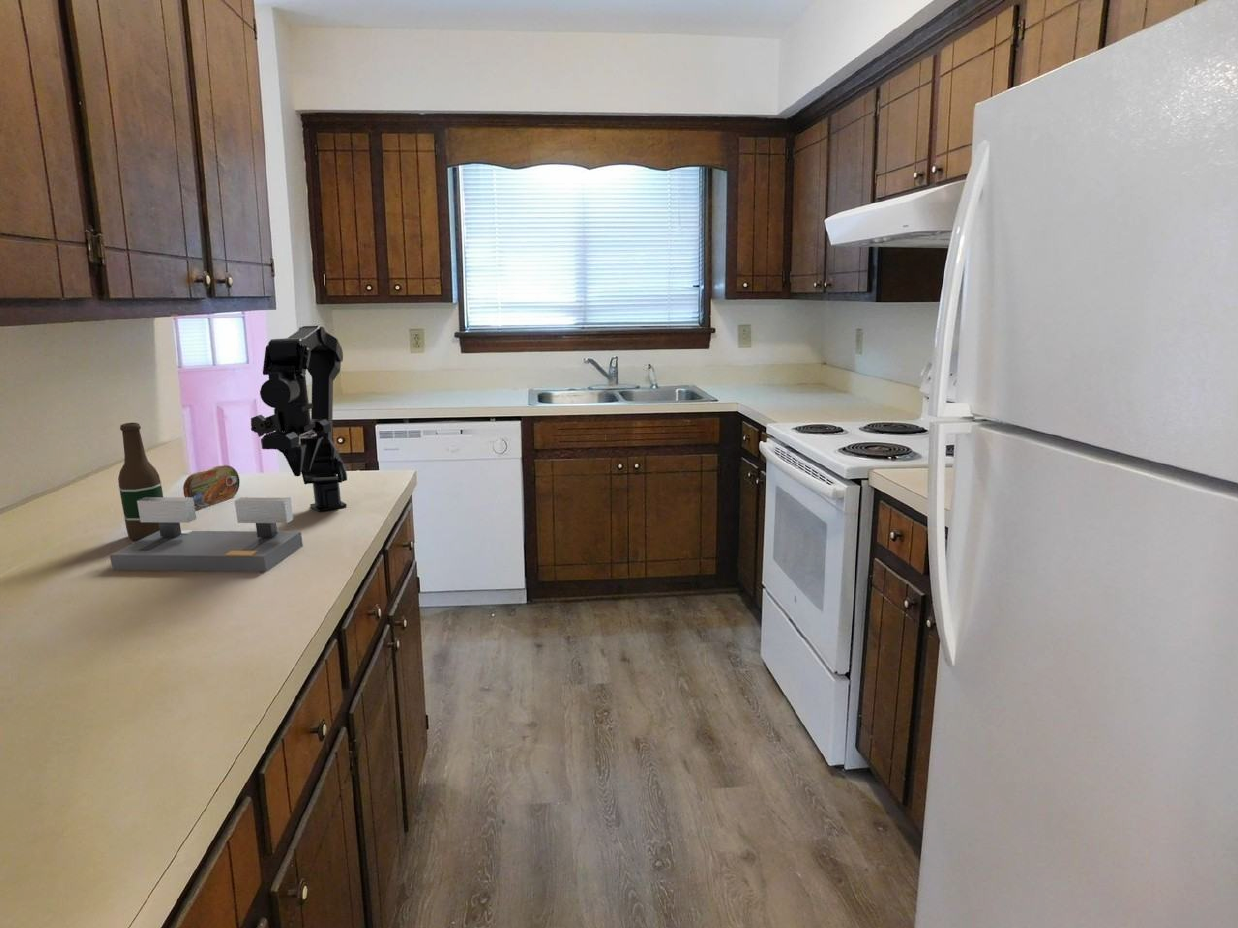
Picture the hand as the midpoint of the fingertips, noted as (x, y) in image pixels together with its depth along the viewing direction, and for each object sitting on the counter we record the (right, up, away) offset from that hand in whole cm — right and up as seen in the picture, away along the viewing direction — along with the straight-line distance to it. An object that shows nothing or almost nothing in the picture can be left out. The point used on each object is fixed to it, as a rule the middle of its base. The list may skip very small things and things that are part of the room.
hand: (302, 473), depth 167 cm
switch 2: (-2, -12, -12) cm, 17 cm away
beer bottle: (-33, -13, +1) cm, 35 cm away
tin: (-31, -7, +25) cm, 40 cm away
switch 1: (-22, -12, -10) cm, 27 cm away
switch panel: (-12, -16, -14) cm, 24 cm away
